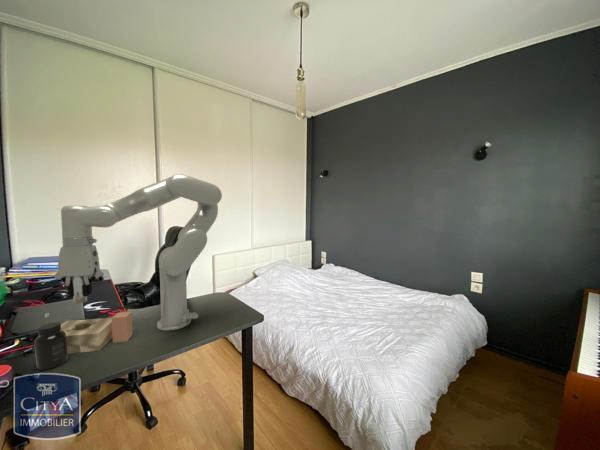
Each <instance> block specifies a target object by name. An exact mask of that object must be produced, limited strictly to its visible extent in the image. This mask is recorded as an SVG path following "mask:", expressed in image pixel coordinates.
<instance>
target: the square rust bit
mask: <svg viewBox="0 0 600 450" xmlns="http://www.w3.org/2000/svg"><path fill="white" fill-rule="evenodd" d="M111 318H112V337H113V338H112V343H114V344H115V343H122V342H123V343H124V342H128V341H129V340H130V339H131V337H132V336H133V333H134V332H133V312H132V311H119V312H117V313H116V314H115V315H113V316H112V317H111Z"/></svg>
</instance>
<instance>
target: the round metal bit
mask: <svg viewBox="0 0 600 450" xmlns="http://www.w3.org/2000/svg"><path fill="white" fill-rule="evenodd" d="M72 281H73V297H72V298H73V299H72V300H73V301H72V303H73V304H74V305H75V304H77V305H78V304H83V303H87V302H88V296H86V297H84V296H83V285H85V282H84V277H83V276H73V277H72Z"/></svg>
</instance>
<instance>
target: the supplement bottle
mask: <svg viewBox="0 0 600 450" xmlns="http://www.w3.org/2000/svg"><path fill="white" fill-rule="evenodd" d="M61 324H62V323H61V322H50V323H46V324H43V325H41V326H39V327H38V329H37V331H38V332H37V334H38V336H37V337H36V338H35V340H34V342H33V343H34V352H35V354H34V355H35V363H36V369H38V370H40V371H46V370H51V369H55V368H58V367H59V366H61V365H63V364H65V362H66V361H67V360H68V359H69V358H68V357H69V354H68V353H67V341H66V333H65V332H64V331H62V330H61Z"/></svg>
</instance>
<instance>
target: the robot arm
mask: <svg viewBox="0 0 600 450" xmlns="http://www.w3.org/2000/svg"><path fill="white" fill-rule="evenodd" d="M222 196H223V195H222V190H221V189H220V187H218V186H217V185H216V184H213V183H210V182H207V181H204V180H201V179H198V178H196V177H193V176H190V175H186V174H182V173H176V174H174V175H171V176H169V177H167V178H164V179H162V180H159V181H157V182H154V183H151V184H149V185H146V186H144V187H141V188H138V189H137V190H135V191H134V192H132V193H130V194H128V195H126V196H124V197H121V198H119V199H117V200H114V201H112V202H111V201H110V203H106V204H104V205H96V206H95V205H94V206H87V205H65V206H63V207H62V208H61V209H60V214H61V215H60V217H61V219H60V220H61V235H62V236H61V237H62V239H61V240H62V246H61V247H60V249H59V253H58V263H57V269H58V270H57V272H55V275H54V278H55V279H57V280H60V281H62V283H64V285H65V286H66V287H67V294H68V298H73V281H72V277H73V276H83V277H84V282H85V285H83V296H84V297H86V296H87V297H88V296H90V295H91V294H92V292H93V283H94V282H95V281H96V280H97V279H98V278H100V277H102V276H103V275H104V273H103V271H102V270H101V265H100V264H101V263H100V258H99V253H98V249H97V246H96V245H95V244H96V243H97V242H98V240H97V239H96V238H94V236H93V228H109V227H112V226H114V225H116V223H118V222H121V221H124V220H126V219H128V218H130V217H132V216H135V215H138V214H141V213H144V212H149V211H152V210H154V209H157V208H158V207H161V206H163V205H166V204H168V203H170V202H173V201H175V200H177V199H180V198H184V199H186V200H189V201H192V202H196V203H197V208H196V211H195V213H194V214H192V216H191V218H190V219H189V220H188V222H187V223H186V224H185V225H184V226H183V227H182V228H181V229H180V231H179V232H178V234H177V235H178V236H177V241H176V242H175V244H174V245H173V246H168V247H166V248H164V249H163V250H162V251H161V252H160V254H159V257H158V267H159V268H158V269H159V283H160V284H159V285H160V286H159V290H160V291H159V293H160V320H158V321H157V322H156V328H157V329H158V330H160V331H168V332H169V331H176V330H179V329H182V328H184V327H186V326H188V325H190V324H191V322H192V320H197V319H199V313H197V312H196V311H194V312H191V311H190V309H189V308H188V298H187V297H188V295H187V294H188V293H187V291H188V290H187V288H188V287H187V286H188V285H187V271H188V269H190V267H191V266H192V265H193V264H194V262H195V261H196V260H197V258H198V257H199V255H200V254H201V253H202V252H203V251H204V249H205V247H206V245H207V242H208V235H207V233H208V232H209V231H210V229H211V228H212V226H213V225H214V223H215V222H216V220H217V218H218V214H219V212H218V211H219V207H218V204H219V203H220V202H221V200H222Z"/></svg>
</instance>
